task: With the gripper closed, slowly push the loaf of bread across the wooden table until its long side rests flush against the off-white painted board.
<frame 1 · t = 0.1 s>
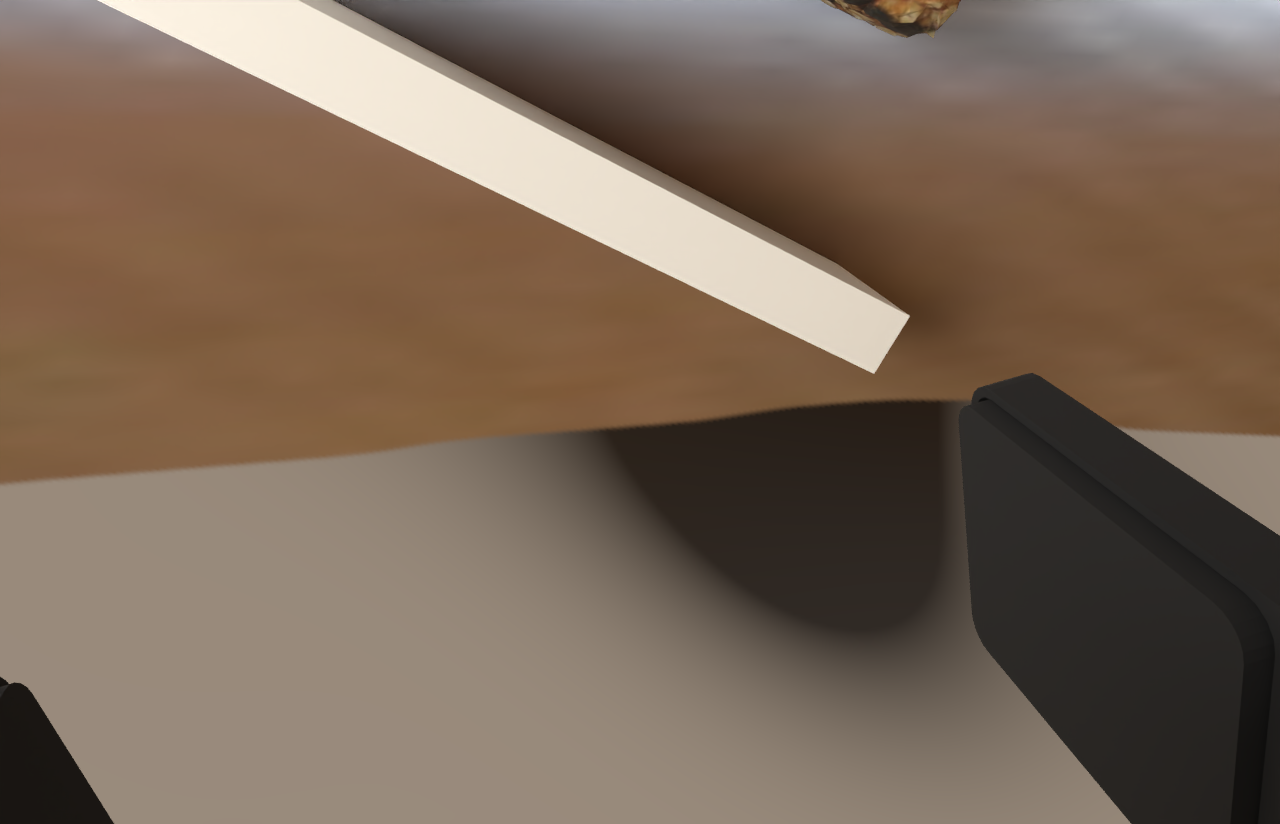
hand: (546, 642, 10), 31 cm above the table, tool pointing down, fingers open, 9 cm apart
board: (533, 142, 38), on the table
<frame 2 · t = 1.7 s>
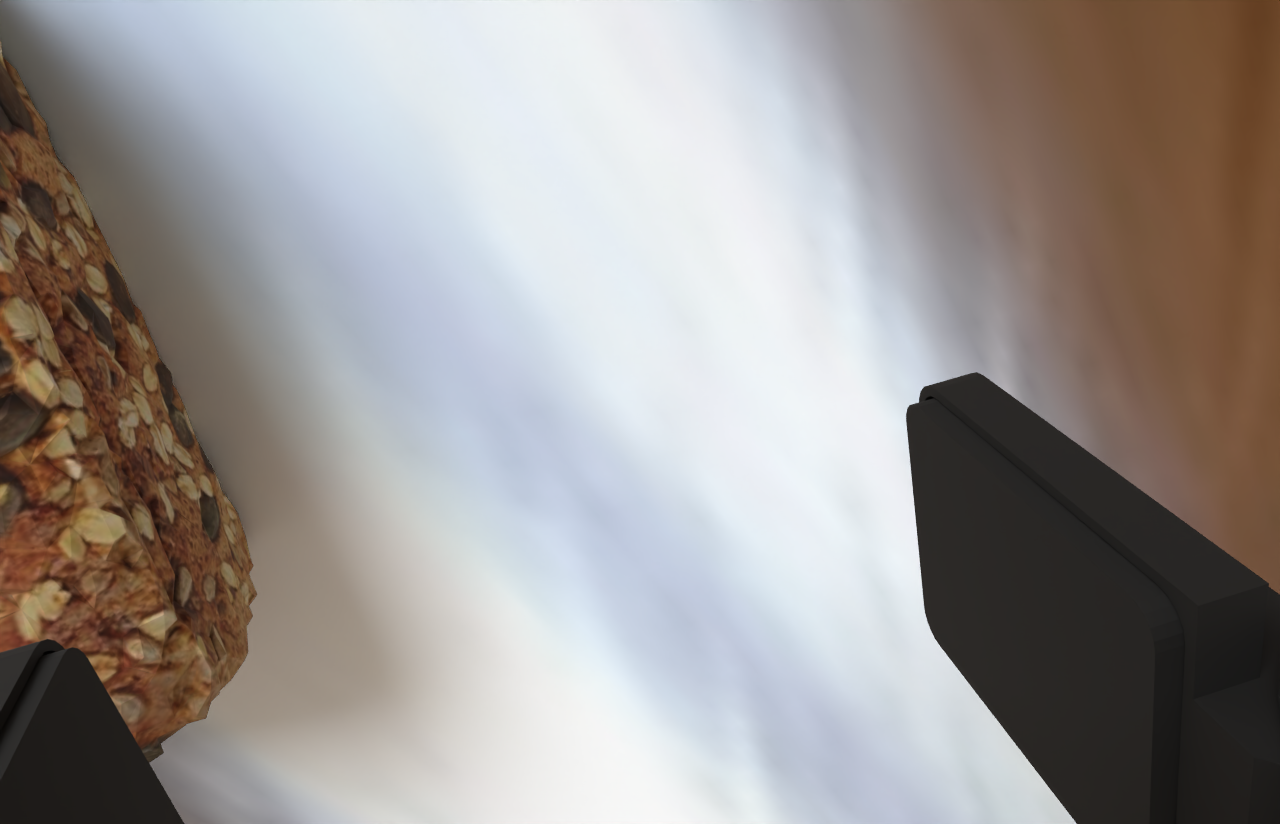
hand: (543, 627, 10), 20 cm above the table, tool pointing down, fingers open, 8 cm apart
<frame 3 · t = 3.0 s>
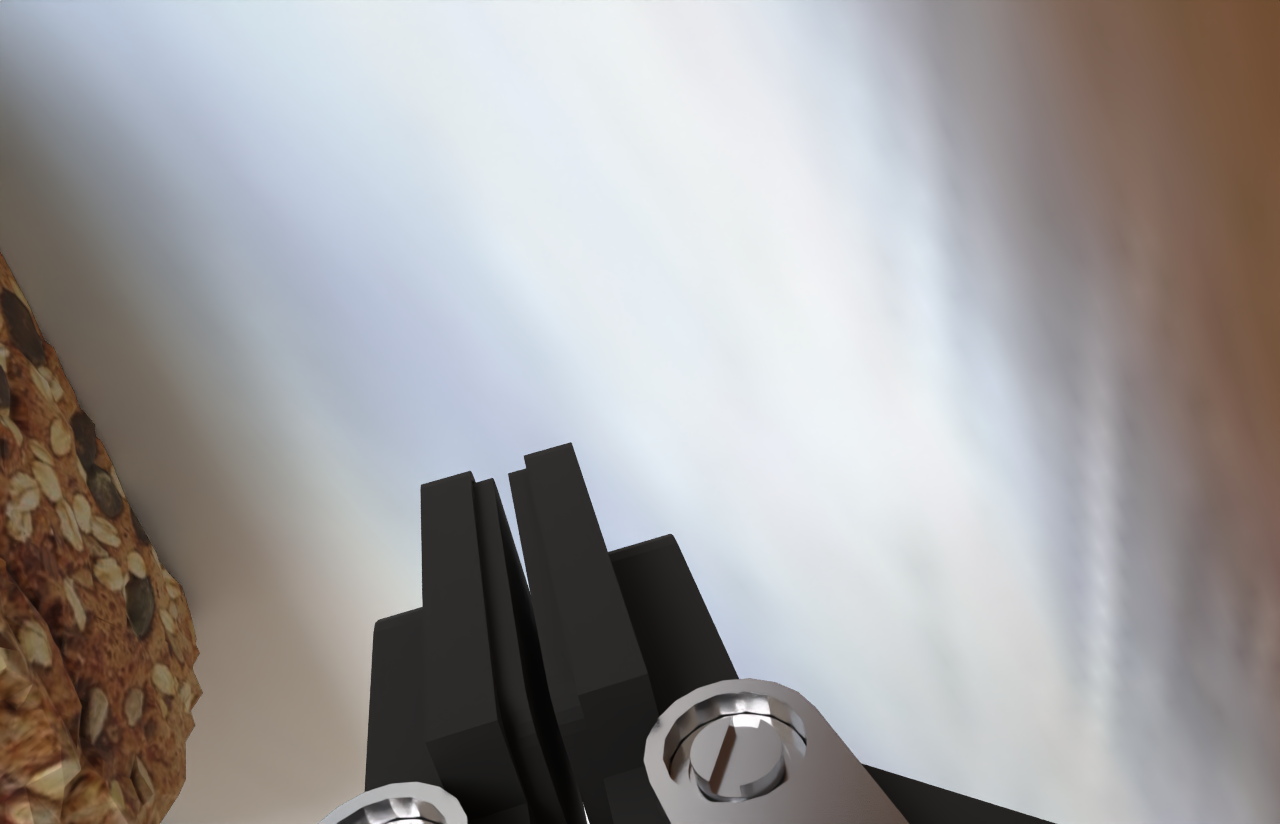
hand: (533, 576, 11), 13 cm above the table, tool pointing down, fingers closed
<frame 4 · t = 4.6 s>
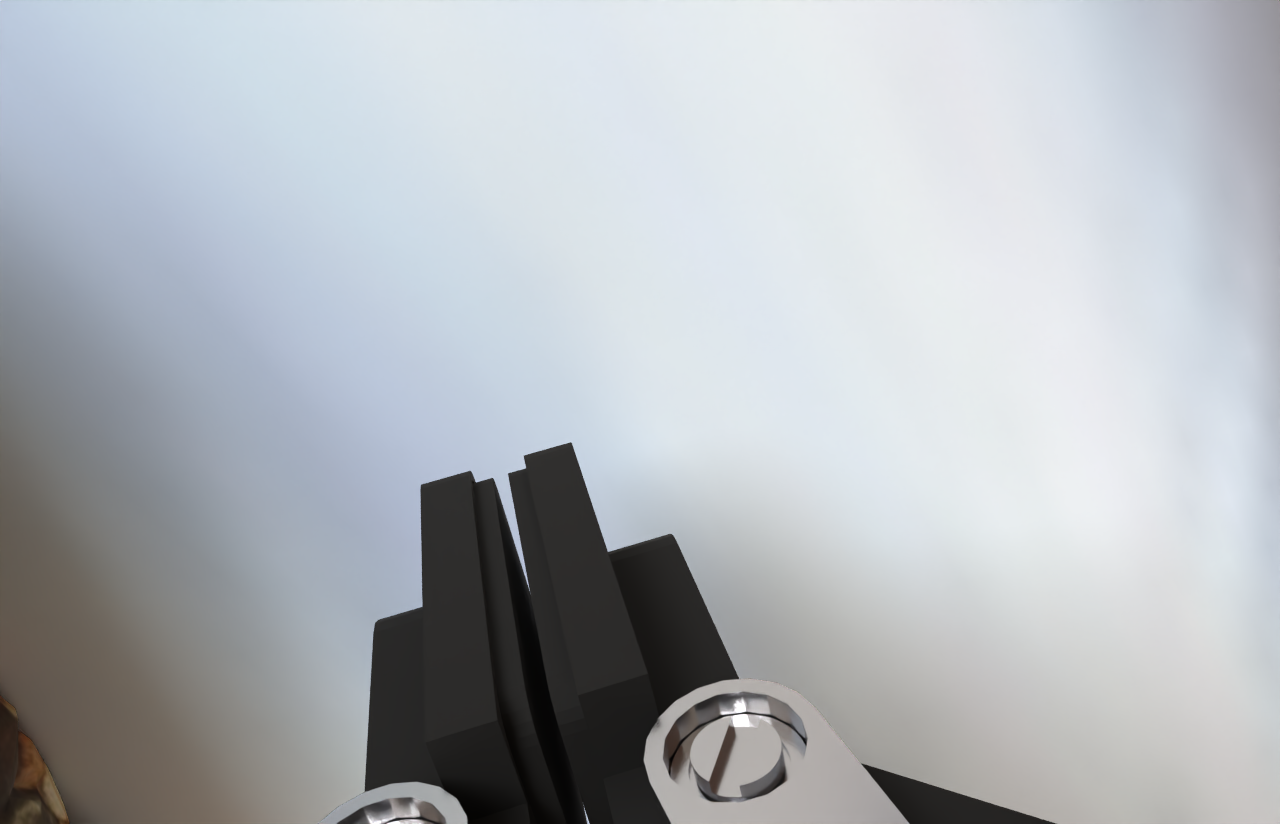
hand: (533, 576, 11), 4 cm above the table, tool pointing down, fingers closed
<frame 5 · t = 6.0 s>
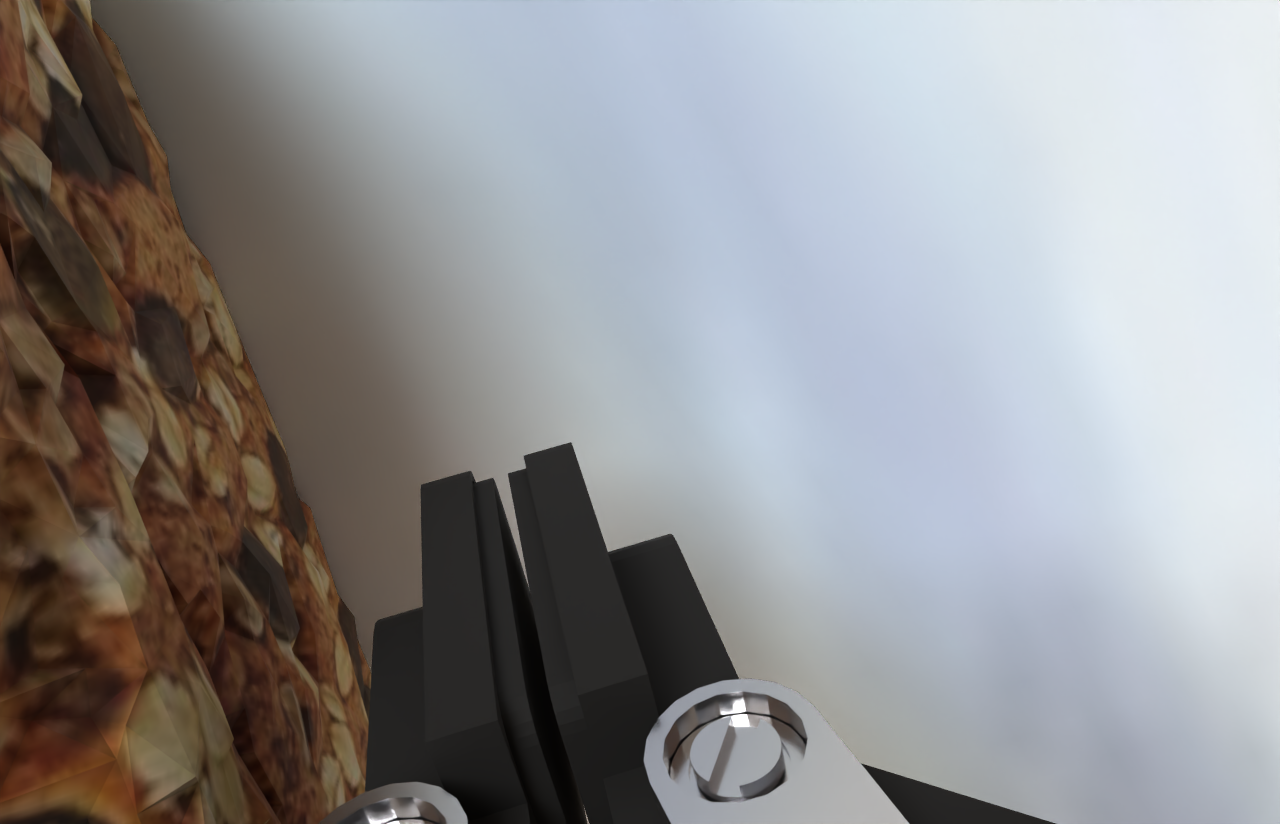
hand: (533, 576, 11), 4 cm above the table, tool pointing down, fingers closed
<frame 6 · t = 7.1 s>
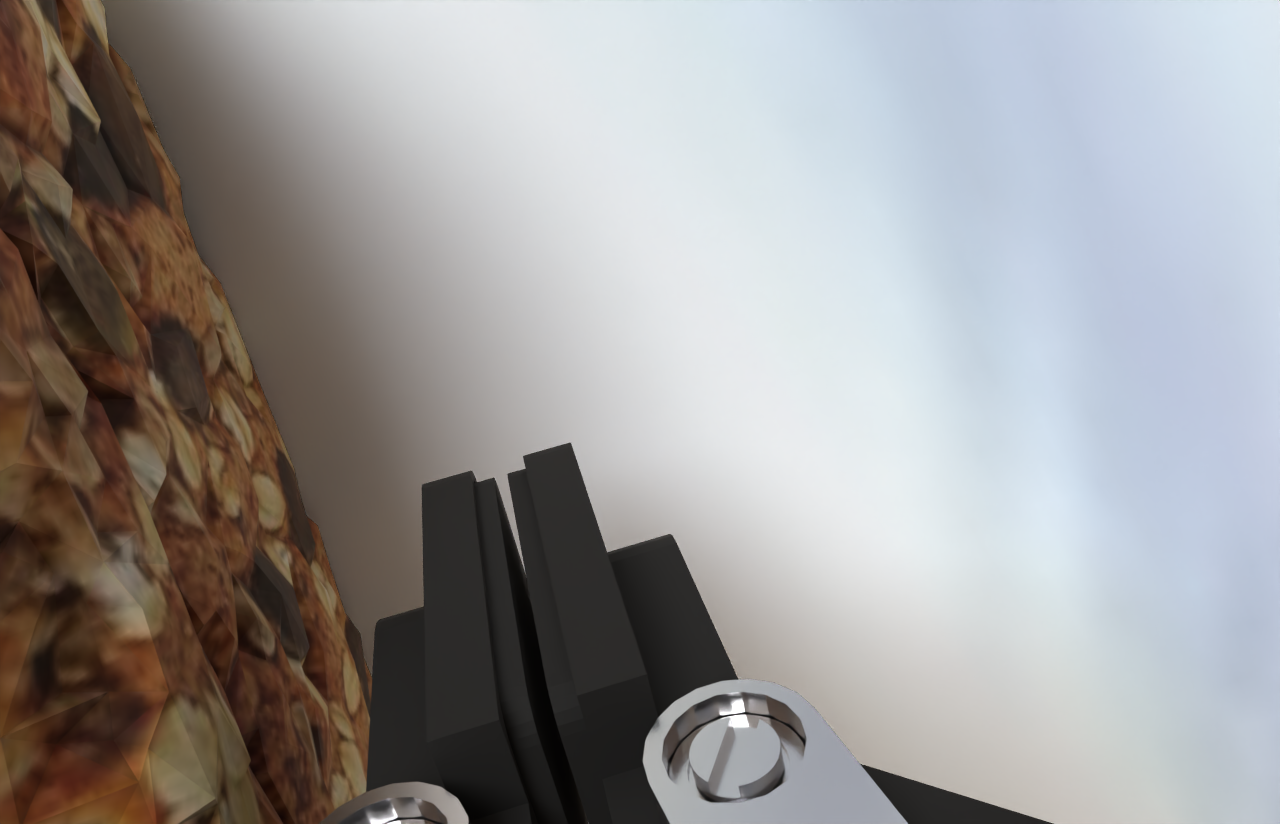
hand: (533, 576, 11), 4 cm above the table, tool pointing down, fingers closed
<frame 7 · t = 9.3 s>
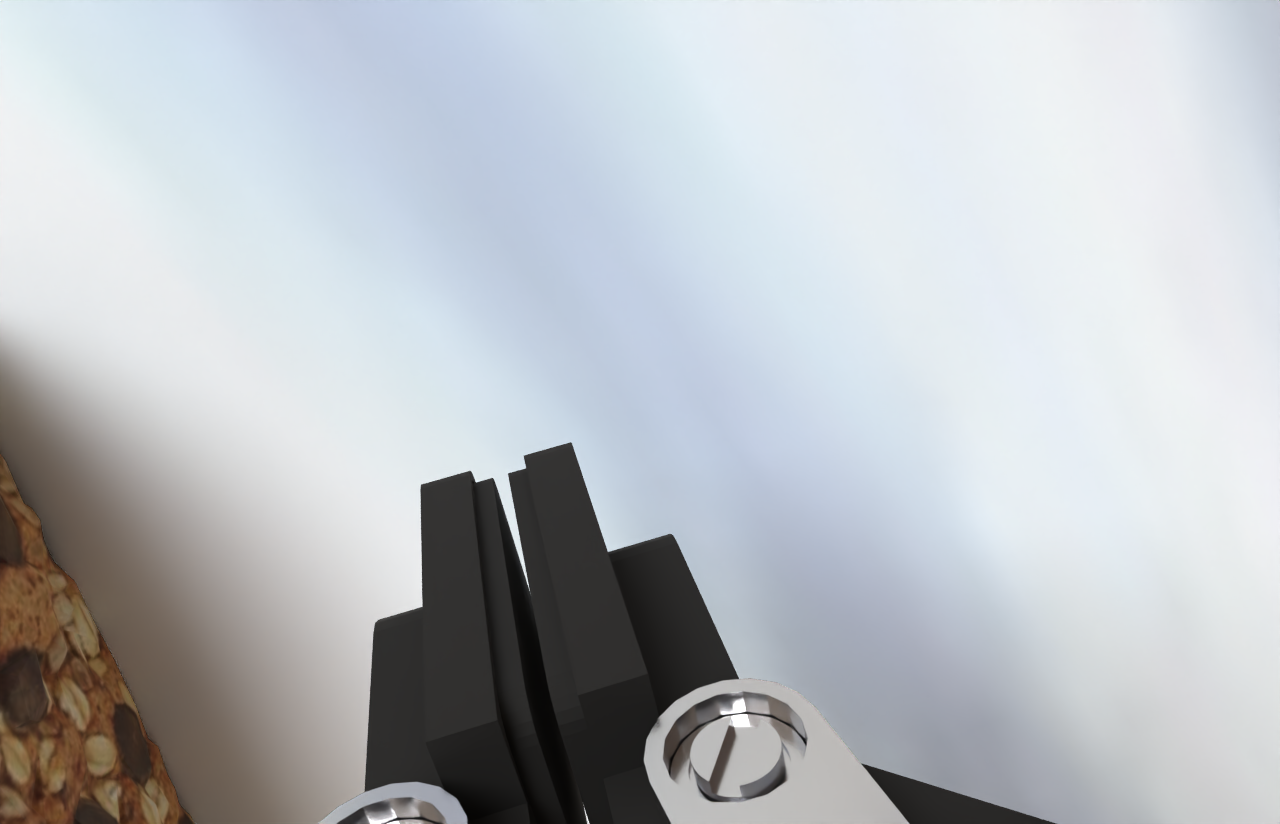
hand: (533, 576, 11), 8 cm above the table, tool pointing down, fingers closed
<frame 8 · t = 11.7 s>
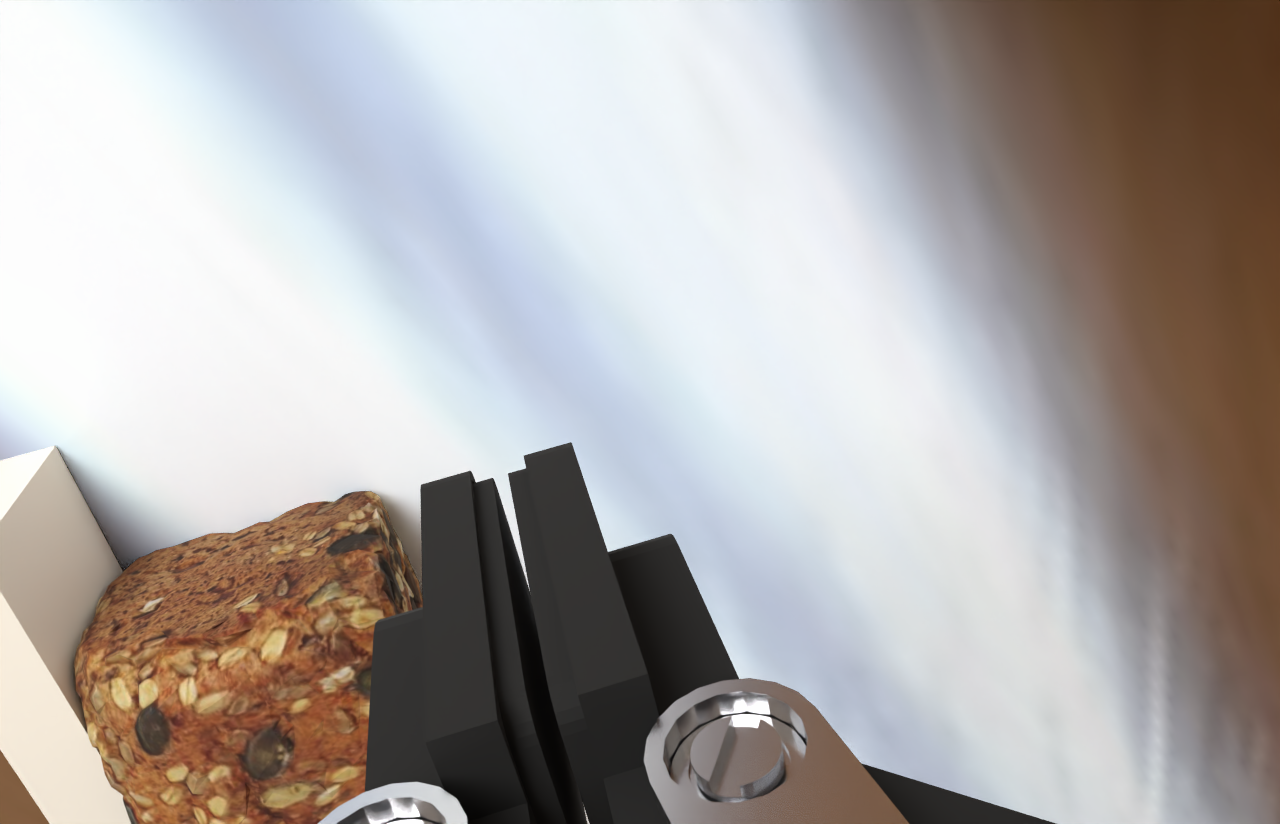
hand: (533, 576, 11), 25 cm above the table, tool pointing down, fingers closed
bread: (338, 689, 41), on the table
board: (182, 750, 41), on the table
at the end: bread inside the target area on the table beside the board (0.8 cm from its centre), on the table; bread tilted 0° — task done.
